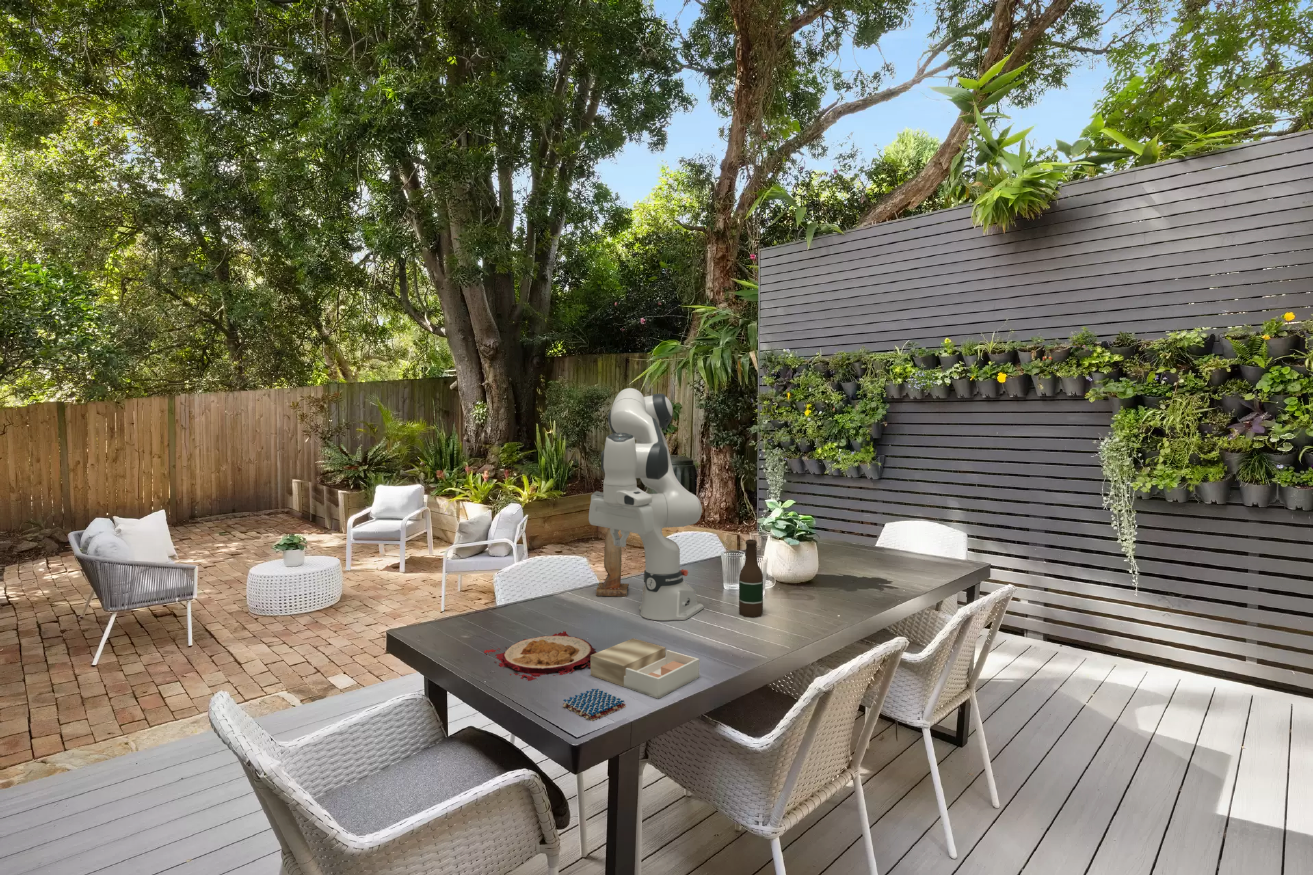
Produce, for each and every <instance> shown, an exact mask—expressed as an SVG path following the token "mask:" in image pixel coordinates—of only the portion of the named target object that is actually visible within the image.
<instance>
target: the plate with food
mask: <svg viewBox="0 0 1313 875" xmlns="http://www.w3.org/2000/svg"><path fill="white" fill-rule="evenodd" d="M507 648H508V649H507ZM498 649H499V650H500V648H497V649H485V650H484V651H483V652H484V654H485V653H487V652H488V653H489V652H492V653H496V652H497V651H496V650H498ZM505 649H506V650H505V651H504V652H502V653H497V654H495V659H496V658H497V659H498V660H499V661H500V662H498V667H500V668H502V667H503V668H511V669H513V670H514V671H517V672H520V673H522V675H520V674H519V673H516V672H513V673H512V674H514V676H518V677H520V680H524V677H526V679H525V681H527V682H531V681H533V680H538V679H537V678H540V677H541V676H545V675H547V676H548V675H549V674H552V673H557V674H558V676H564V675H566V674H569V675H570V674H572V673H574V672H575V671H576V670H575V669H574V667H575V666H576V667H575V668H576V669H577V668H578V666H580V667H579V668H581V669H583V668H586V666H587V667H588V668H589V669H591V655H592V654H595V653H597V652H598V651H596V650H597V648H594V647H593V645H592V644H591V643H589V641H587V640H585V639H583V638H580V637H576V636H571V635H569V634H568V633H567V631H564V630H563V631H562V632H558V633H554V634H553V635H543V636H542V635H541V636H538V637H537V636H536V637H531V638H525V639H523V640H522V639H521V640H519V641H518V642H515V643H514V644H512V645H510V647H506V646H505ZM489 654H490V653H489ZM496 656H497V657H496ZM495 664H497V662H495ZM579 668H578V669H579ZM526 673H527V674H526ZM512 674H511V673H509V676H511V675H512ZM557 674H555V675H554V674H553V675H552V677H556V676H557Z"/></svg>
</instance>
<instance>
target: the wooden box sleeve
mask: <svg viewBox="0 0 1313 875" xmlns="http://www.w3.org/2000/svg"><path fill="white" fill-rule="evenodd" d="M666 650H667V648H666V646H662V645H660V644H659V645H658V644H655V643H651V642H648V641H644V640H640V639H637V638H634V637H633V638H631V639H628V640H625V641H622V642H620V643H618V644H615V645H613V646H610V647H608V648H606V649H603V650H600V651H596V652H597V653H595V654H592V655H591V661H590V662H591V667H590V676H592V677H594V678H597V679H601V680H602V681H607V682H609V683H612V684H614V685H617V686H620V687H622V688H623V687H624V676H626V668H629V669H632V670H636V671H637V670H639V669H641V668H643V667H645V666H647V665H650V664H652V663H654V662H656V661H658V660H660V659H663V658H665V657H666ZM624 688H625V687H624Z"/></svg>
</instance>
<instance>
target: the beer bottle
mask: <svg viewBox="0 0 1313 875" xmlns="http://www.w3.org/2000/svg"><path fill="white" fill-rule="evenodd" d="M744 543H745V545H746V546H745V557H744V558H745V561H744V566H743V567H742V568H741V570H740V573H739V576H738V578H739V579H738V588H739V589H738V613H739V615H740V616H742V617H745V618H753V619H754V618H759V617H761V616H762V615H763V612H764V574H763V572H762V569H761V568H760V566H759V563H758V553H757V544H758V541H757V540H756V539H753V538H751V539H747V540H746V541H745V542H744Z"/></svg>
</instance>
